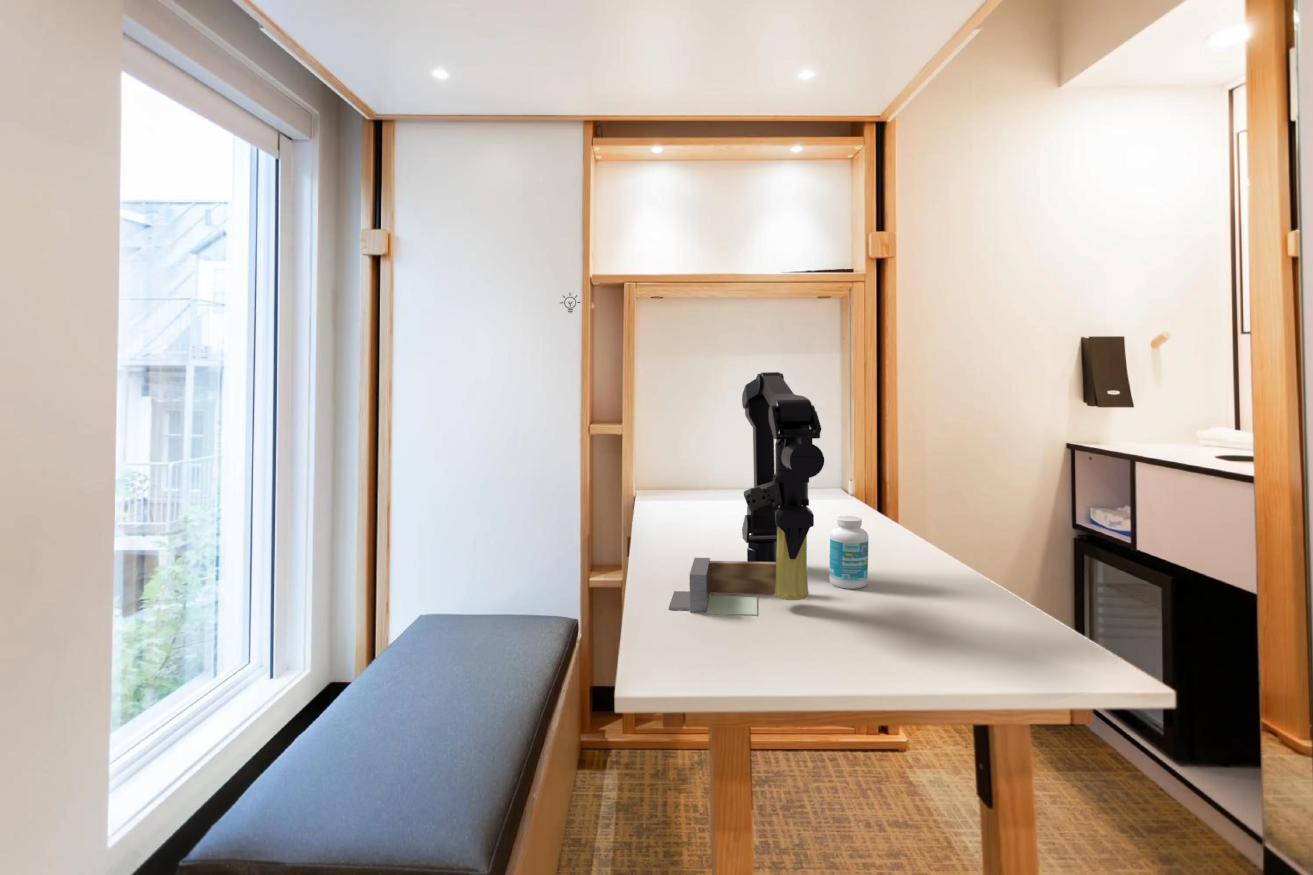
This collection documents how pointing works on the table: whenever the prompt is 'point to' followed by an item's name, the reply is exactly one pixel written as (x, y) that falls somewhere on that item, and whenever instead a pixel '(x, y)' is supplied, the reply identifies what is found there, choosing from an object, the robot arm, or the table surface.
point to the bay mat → (732, 605)
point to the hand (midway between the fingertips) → (791, 554)
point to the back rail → (742, 577)
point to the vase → (791, 571)
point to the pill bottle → (849, 553)
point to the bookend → (694, 589)
